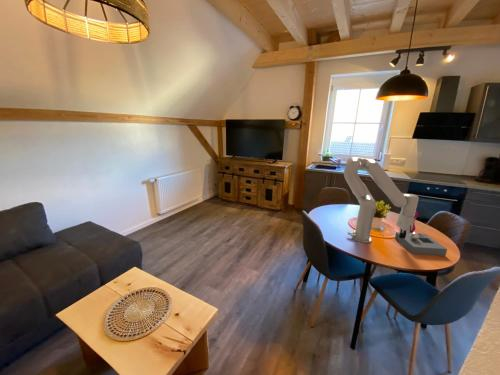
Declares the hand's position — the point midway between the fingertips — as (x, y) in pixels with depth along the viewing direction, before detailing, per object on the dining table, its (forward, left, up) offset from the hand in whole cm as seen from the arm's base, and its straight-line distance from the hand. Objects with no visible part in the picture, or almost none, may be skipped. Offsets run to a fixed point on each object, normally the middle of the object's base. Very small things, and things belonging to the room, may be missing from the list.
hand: (401, 237), depth 146 cm
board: (+12, 0, -6) cm, 13 cm away
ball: (+8, 0, +2) cm, 8 cm away
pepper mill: (+17, +20, -6) cm, 27 cm away
